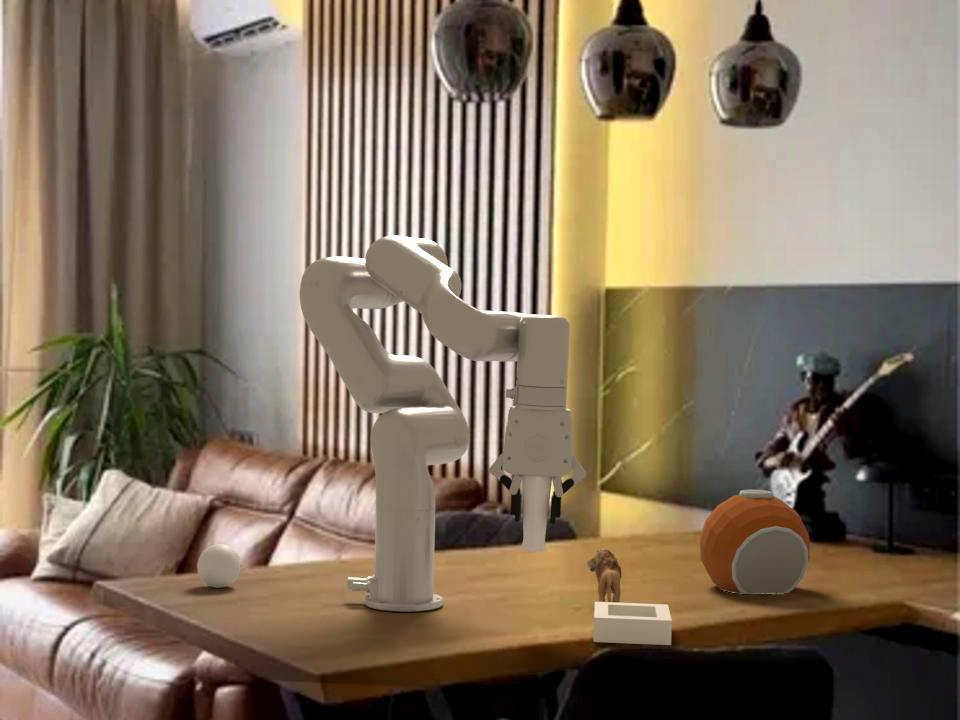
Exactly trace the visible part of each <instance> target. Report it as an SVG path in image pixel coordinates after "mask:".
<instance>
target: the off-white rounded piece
mask: <svg viewBox="0 0 960 720" xmlns="http://www.w3.org/2000/svg"><path fill="white" fill-rule="evenodd" d="M196 566H197V567H196V569H197V573H198V576H199V577H200V579H201V581H203V582H204V583H205V584H206V586H207V585H208V586H210V587H212V588H219V589H220V588H225V587H228V586H230V585H232V584H233V583H234V582H235V581H236V580H237V579H238V578H239V575H240V574H241V569H242V566H243V565H242V561H241V558H240V555H239V553H238V552H237V551H236V550H235V549H234V547H232V546H229V545H227V544H225V543H217V544H212V545H210V546H208V547H206V548H204V550H203V551H202V552H201V554H200V556H199V557H198V560H197V564H196Z"/></svg>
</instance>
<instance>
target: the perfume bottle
mask: <svg viewBox="0 0 960 720" xmlns="http://www.w3.org/2000/svg"><path fill="white" fill-rule="evenodd" d="M521 483H522V485H521V486H522V514H523V515H522V522H523V523H522V526H523V527H522V529H523V531H522V532H523V534H522V535H523V536H522V537H523V538H522V539H523V540H522V543H521V547H520V548H519V549H520V550H521V551H525V552H531V553H539V552H540V553H541V552H547V551H548V550H547V545H546V544H547V543H546V534H547V533H546V531H547V525H548V516H549V509H550V498H551V491H552V485H553V481H552V477H541V476H524V475H523V476H522V480H521Z"/></svg>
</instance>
